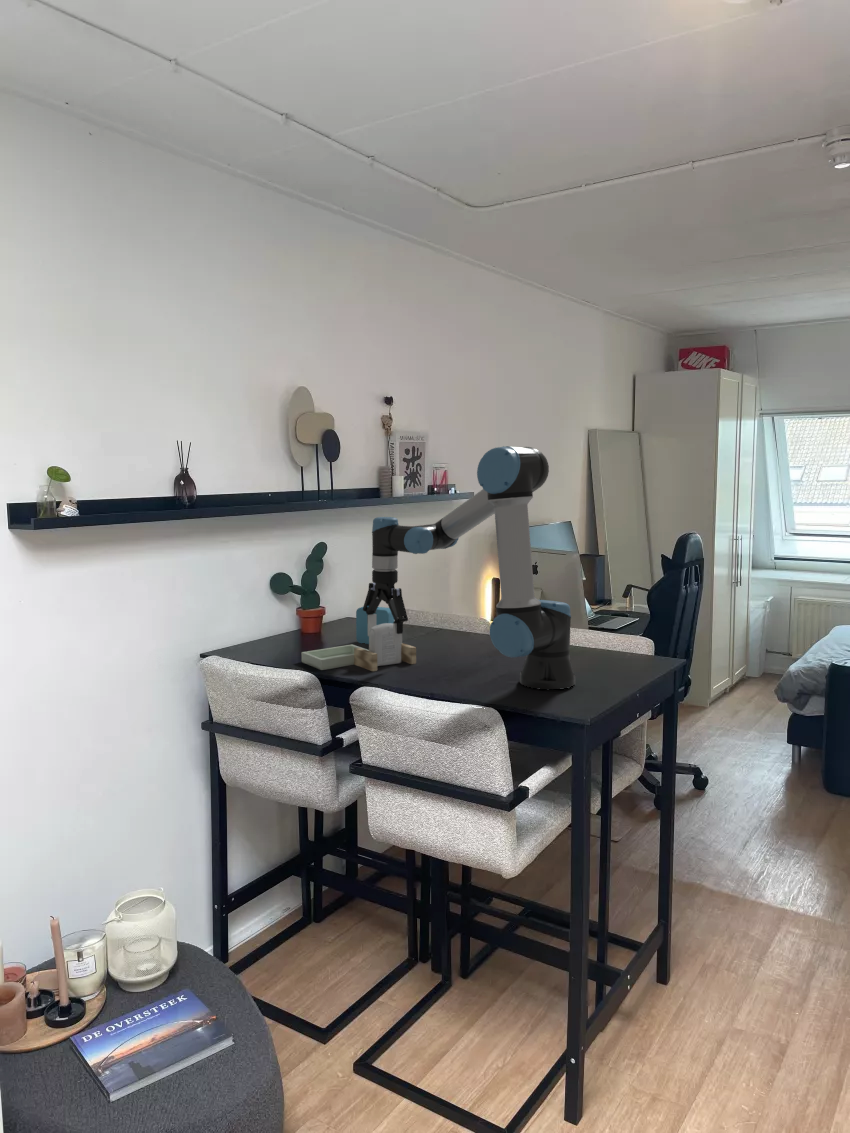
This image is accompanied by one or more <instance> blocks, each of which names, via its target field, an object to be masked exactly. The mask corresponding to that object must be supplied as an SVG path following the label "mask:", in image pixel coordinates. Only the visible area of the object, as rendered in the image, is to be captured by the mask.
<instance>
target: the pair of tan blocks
mask: <svg viewBox="0 0 850 1133" xmlns="http://www.w3.org/2000/svg"><path fill="white" fill-rule="evenodd" d="M362 648H363V647H361V648H354V665H353V666H357V667H360V668H361V669H366V670H367V671H371V672H377V671H378V666H377V654H376V653H373V652H370V651H367V650H368V649H367V650H365V649H366V648H364V649H362ZM401 662H404V663H406V664H410V665H416V664H417V647H416V646H413V645H410V644H406V643H403V642H402V644H401Z"/></svg>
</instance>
